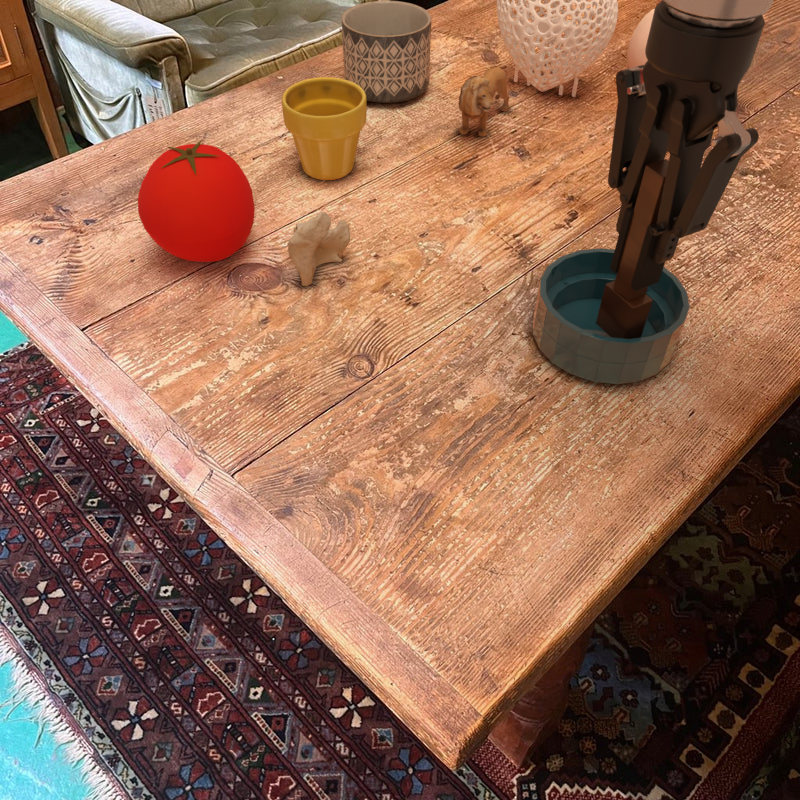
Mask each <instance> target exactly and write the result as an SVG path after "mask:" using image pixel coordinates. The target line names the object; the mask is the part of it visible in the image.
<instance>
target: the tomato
mask: <svg viewBox="0 0 800 800" xmlns="http://www.w3.org/2000/svg"><path fill="white" fill-rule="evenodd" d="M202 142H203V139H201V140H200V141H199V142H197V143H188V144H183V145H179V146H175V147H172V146H166V148H168V149H167V150H166V151H163V152H162V154H160V155H159V156H158V157H157V158H156V159H155V160H154V161H153V162H152V163H151V165H150V166H149V168H148V170H147V172H146V174H145V176H144V178H143V180H142V182H141V184H140V188H139V191H138V196H137V213H138V216H139V219H140V222H141V224H142V226H143V228H144V231H145V232H146V233H147V234H148V235H149V236H150V239H152V240H153V241H154V242H155V243H156V245H158V246H159V247H160V248H161V249H162V250H164V251H165V252H167V253H169V254H170V255H172V256H174V257H176V258H179V259H182V260H185V261H188V262H199V263H200V262H201V263H214V262H219V261H223V260H225V259H227V258H229V257H231V256H232V255H234V254H235V253H236V252H237V251H239V250H240V249H241V248H242V247H243V246H244V245H245V244H246V242H247V240H248V238H249V236H250V235H251V232H252V230H253V225H254V221H255V209H256V206H255V200H254V195H253V190H252V187H251V185H250V184H251V183H250V182H249V179H248V177H247V176H246V174H245V172H244V171H243V169H242V168H241V166H240V165H239V163H237V161H236V160H235V159H234V158H233V157H232V156H231V155H230V154H228V153H226V152H225V151H223V150H222V149H220V148H218V147H217V146H214V145H211V144H206V143H205V144H204V143H203V144H202Z"/></svg>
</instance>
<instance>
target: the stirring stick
mask: <svg viewBox="0 0 800 800" xmlns="http://www.w3.org/2000/svg"><path fill="white" fill-rule="evenodd" d="M668 162H669V159H667V158H664V160H660V161H657V162H654V163H651V164H648V165H646V167H645V170H644V174H643V178H642V182H641V185H640V189H639V193H638V197H637V200H636V204H635V208H634V212H633V215H632V219H631V223H630V227H629V230H628V234H627V238H626V242H625V245H624V249H623V253H622V257H621V260H620V264H619V268H618V272H617V275H616V279H615V281H613V282H610V283H607V284H606V285H605V289H604V293H603V297H602V301H601V305H600V309H599V313H598V316H597V320H596V324H597V325H598V326H599V327H600V328H601V329H603V330H604V331H605V332H606V333H607V334H608V335H609V336H610V337H613V338H624V339H633V338H641V336H642V333H643V329H644V326H645V323H646V320H647V317H648V314H649V311H650V308H651V304H652V301H653V300H652V299H651V298H650V297H648V296H647V295H646V292H647V289H648V286H647V287H644V288H642V289H639V290H637V291H635V290H634V289H633V288H632V287H631V282H632V279H633V275H634V272H635V268H636V265H637V261H638V258H639V254H640V251H641V247H642V244H643V240H644V237H645V234H646V230H647V227H648V226H649V225H652V224H655V223H657V219H658V213H659V208H660V203H661V198H662V193H663V188H664V183H665V178H666V172H667V167H668Z"/></svg>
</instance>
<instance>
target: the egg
mask: <svg viewBox="0 0 800 800" xmlns="http://www.w3.org/2000/svg"><path fill="white" fill-rule="evenodd" d="M654 10H655V8H653V9H650V10H649V11H648V12H647V13H645V15H644V16H643V17H642V19H641V20H640V21H639V23H638V24H637V25H636V27H635V28H634V30H633V31H632V35H631V37H630V40H629V43H628V46H627V53H626V62H627V67H628V69H629V68H633V67H637V66H640V65H645V63H646V62H647V61H648V60H647V58H646V54H645V48H646V44H647V40H648V35H649V31H650V27H651V23H652V19H653V14H654Z"/></svg>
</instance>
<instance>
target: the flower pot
mask: <svg viewBox="0 0 800 800" xmlns="http://www.w3.org/2000/svg"><path fill="white" fill-rule="evenodd" d="M367 108H368V107H367V100H366V94H365V92H364V90H363V89H362V88H361V87H360V86H359V85H357V84H356V83H354V82H351V81H348V80H345V79H344V78H339V77H333V76H332V77H331V76H318V77H310V78H306V79H303V80H302V79H301V80H299V81H298V82H295V83H293V84H291V85H290V86H289V87H287V88H286V89H285V91H284V92H283V94H282V96H281V109H282V116H283V123H284V126H285V128H286V129H287V131H288V132H289V133H290V134H291V136H292V139H293V141H294V145H295V147H296V148H295V149H296V151H297V155H298V158H299V160H300V163H301V167H302V169H303V172H304V173H305V174H306V175H307V176H309V177H310V178H313V179H316V180H320V181H334V180H339V179H342V178H344V177H346V176H348V175H349V174H350V173H351V172H352V171H353V168H354V163H355V161H356V154H357V149H358V144H359V139H360V134H361V131H362V130H363V129H364V127H365V125H366V123H367V110H368V109H367Z"/></svg>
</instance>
